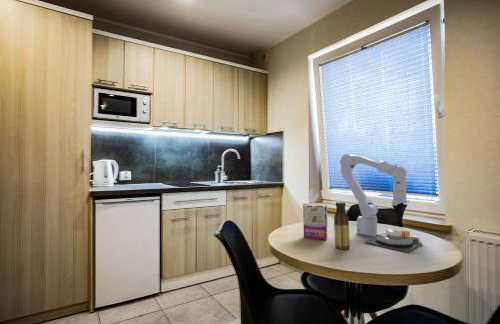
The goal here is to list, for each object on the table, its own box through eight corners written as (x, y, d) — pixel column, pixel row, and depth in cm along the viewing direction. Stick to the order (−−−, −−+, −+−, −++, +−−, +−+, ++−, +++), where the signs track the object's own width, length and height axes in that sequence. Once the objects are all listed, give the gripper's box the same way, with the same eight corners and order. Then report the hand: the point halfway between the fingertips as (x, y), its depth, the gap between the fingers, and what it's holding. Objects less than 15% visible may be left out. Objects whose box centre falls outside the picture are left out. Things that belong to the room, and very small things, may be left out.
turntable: (388, 246, 115) (388, 236, 115) (369, 237, 130) (369, 228, 130) (420, 245, 116) (420, 235, 116) (397, 236, 131) (397, 227, 131)
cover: (392, 239, 120) (392, 232, 120) (383, 236, 126) (383, 229, 126) (404, 238, 121) (403, 232, 121) (394, 235, 127) (394, 229, 127)
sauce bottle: (349, 246, 119) (349, 201, 119) (350, 250, 113) (349, 203, 113) (334, 245, 121) (334, 201, 121) (333, 249, 115) (333, 203, 116)
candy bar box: (327, 238, 133) (327, 205, 134) (326, 240, 129) (326, 206, 129) (305, 235, 137) (305, 203, 138) (303, 238, 133) (303, 205, 133)
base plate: (365, 243, 124) (365, 236, 124) (381, 236, 136) (381, 229, 136) (408, 252, 110) (408, 244, 110) (422, 244, 122) (421, 236, 122)
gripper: (403, 192, 124) (403, 222, 123) (413, 190, 133) (413, 218, 133) (387, 191, 129) (387, 219, 129) (398, 189, 139) (398, 216, 138)
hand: (399, 218), depth 131 cm, fingers closed
